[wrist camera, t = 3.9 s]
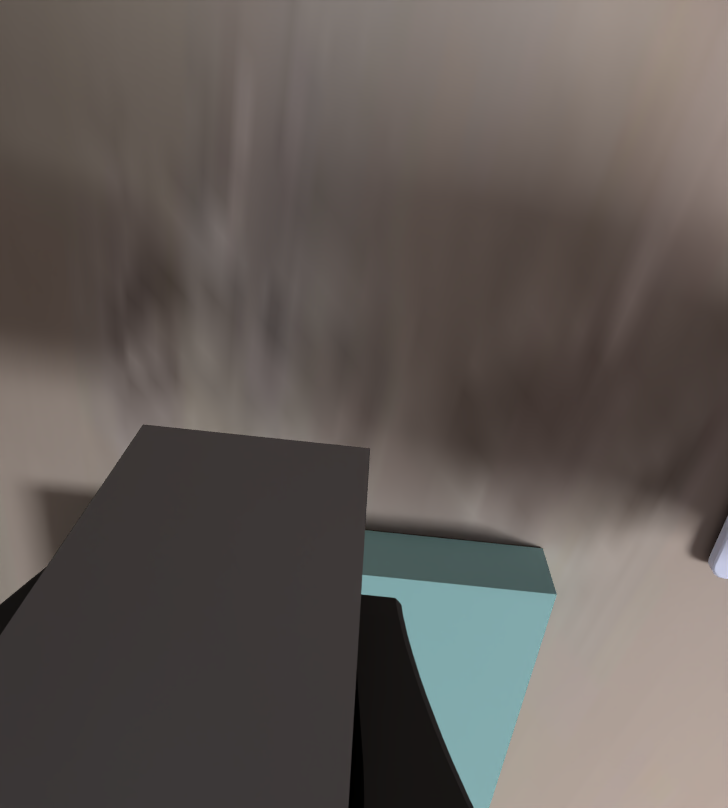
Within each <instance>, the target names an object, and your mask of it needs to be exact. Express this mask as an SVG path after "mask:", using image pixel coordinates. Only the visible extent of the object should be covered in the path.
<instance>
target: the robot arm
mask: <svg viewBox="0 0 728 808" xmlns="http://www.w3.org/2000/svg"><path fill="white" fill-rule="evenodd" d="M708 564H709V566H710V568H711V570H712V571H713V573H714V574H715V575H716V576H718V577H721V578H725V579H728V516H727V519H726V521H725V523H724V525H723V528H722V530H721V532H720V534H719V536H718V539H717V541H716V543H715V545H714V548H713V550H712V552H711V554H710V557H709V560H708ZM44 570H45V569H43V570H42V571H41V572H40V573H38V574H37V575H36V576H35V577H33V578H32V579H31V580H30V581H28V582H27V583H26V584H25V585H23V586H22V587H21V588H20V589H19V590H17V591H16V592H15V593H14V594H12V595H11V596H10V597H9V598H8V599H6V600H5V601H4V602H3V603H2V604H0V635H1V633H2V632H3V630H4V629H5V627H6V626H7V624H8V623H9V622H10V620H11V619H12V617H13V616H14V614H15V613H16V611H17V610H18V608H19V607H20V605H21V604H22V602H23V601H24V599H25V598H26V596H27V595H28V594H29V592H30V591H31V589H32V588H33V586H34V585H35V583H36V582H37V580H38V579H39V577H40V576H41V574H42V573H43V571H44ZM348 808H474V807H473V805H472V803H471V801H470V799H469V796H468V794H467V792H466V790H465V788H464V785H463V783H462V781H461V779H460V776H459V774H458V772H457V770H456V767H455V765H454V763H453V761H452V758H451V756H450V754H449V751H448V749H447V746H446V744H445V742H444V739H443V737H442V734H441V732H440V729H439V726H438V724H437V721H436V719H435V716H434V713H433V711H432V708H431V706H430V703H429V700H428V698H427V695H426V692H425V689H424V686H423V684H422V681H421V678H420V675H419V671H418V668H417V665H416V662H415V659H414V656H413V652H412V649H411V645H410V642H409V638H408V634H407V630H406V626H405V621H404V617H403V611H402V605H401V603H400V602H399V601H398V600H397V599H396V598H392V597H382V596H373V595H363V594H361V606H360V622H359V639H358V656H357V672H356V689H355V705H354V722H353V739H352V755H351V772H350V788H349V805H348Z"/></svg>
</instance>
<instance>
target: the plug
mask: <svg viewBox="0 0 728 808" xmlns="http://www.w3.org/2000/svg"><path fill="white" fill-rule="evenodd" d="M369 456H370V448H360V447H351V446H341V445H332V444H322V443H313V442H303V441H294V440H284V439H275V438H265V437H256V436H246V435H237V434H227V433H218V432H208V431H199V430H189V429H180V428H170V427H161V426H151V425H142V427H141V428H140V430H139V431H138V433H137V434H136V436H135V437H134V439H133V440H132V442H131V443H130V445H129V446H128V448H127V449H126V450H125V452H124V453H123V455H122V456H121V458H120V459H119V461H118V462H117V464H116V465H115V467H114V468H113V470H112V471H111V473H110V474H109V476H108V477H107V479H106V480H105V481H104V483H103V484H102V486H101V487H100V489H99V490H98V492H97V493H96V495H95V496H94V498H93V499H92V501H91V502H90V504H89V505H88V507H87V508H86V509H85V511H84V512H83V514H82V515H81V517H80V518H79V520H78V521H77V523H76V524H75V526H74V527H73V529H72V530H71V532H70V533H69V535H68V536H67V537H66V539H65V540H64V542H63V543H62V545H61V546H60V548H59V549H58V551H57V552H56V554H55V555H54V557H53V558H52V560H51V561H50V563H49V564H48V565H47V567H46V568H45V570H44V571H43V573H42V574H41V576H40V577H39V579H38V580H37V582H36V583H35V585H34V586H33V588H32V589H31V591H30V592H29V594H28V595H27V596H26V598H25V599H24V601H23V602H22V604H21V605H20V607H19V608H18V610H17V611H16V613H15V614H14V616H13V617H12V619H11V620H10V622H9V623H8V624H7V626H6V627H5V629H4V630H3V632H2V633H1V635H0V808H348V805H349V788H350V772H351V755H352V739H353V722H354V705H355V689H356V672H357V656H358V639H359V622H360V606H361V589H362V573H363V556H364V539H365V523H366V506H367V490H368V473H369Z"/></svg>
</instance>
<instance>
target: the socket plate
mask: <svg viewBox="0 0 728 808" xmlns="http://www.w3.org/2000/svg"><path fill="white" fill-rule="evenodd" d="M361 594H363V595H373V596H382V597H392V598H396V599H397V600H398V601H399V602H400V603H401V605H402V611H403V617H404V621H405V626H406V630H407V634H408V638H409V642H410V645H411V649H412V652H413V656H414V659H415V662H416V665H417V668H418V671H419V675H420V678H421V681H422V684H423V686H424V689H425V692H426V695H427V698H428V700H429V703H430V706H431V708H432V711H433V713H434V716H435V719H436V721H437V724H438V726H439V729H440V732H441V734H442V737H443V739H444V742H445V744H446V746H447V749H448V751H449V754H450V756H451V758H452V761H453V763H454V765H455V767H456V770H457V772H458V774H459V776H460V779H461V781H462V783H463V785H464V788H465V790H466V792H467V794H468V796H469V799H470V801H471V803H472V805H473V807H474V808H489V806H490V803H491V800H492V797H493V793H494V790H495V787H496V784H497V781H498V778H499V775H500V771H501V768H502V765H503V762H504V759H505V756H506V753H507V749H508V746H509V743H510V740H511V737H512V734H513V730H514V727H515V724H516V721H517V718H518V715H519V712H520V708H521V705H522V702H523V699H524V696H525V693H526V689H527V686H528V683H529V680H530V677H531V674H532V671H533V667H534V664H535V661H536V658H537V655H538V652H539V649H540V645H541V642H542V639H543V636H544V633H545V630H546V626H547V623H548V620H549V617H550V614H551V611H552V608H553V604H554V601H555V598H556V595H557V594H556V591H555V587H554V584H553V581H552V578H551V574H550V571H549V568H548V565H547V561H546V558H545V555H544V551H543V548H534V547H525V546H515V545H505V544H495V543H485V542H476V541H466V540H456V539H446V538H437V537H427V536H417V535H407V534H397V533H388V532H378V531H368V530H365V539H364V556H363V573H362V589H361Z"/></svg>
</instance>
